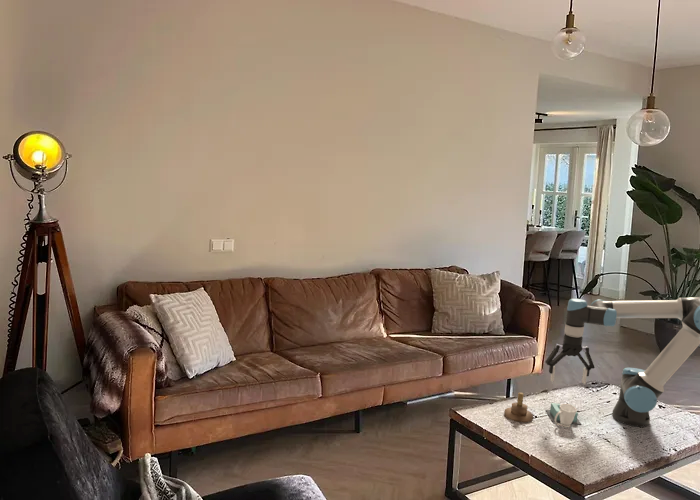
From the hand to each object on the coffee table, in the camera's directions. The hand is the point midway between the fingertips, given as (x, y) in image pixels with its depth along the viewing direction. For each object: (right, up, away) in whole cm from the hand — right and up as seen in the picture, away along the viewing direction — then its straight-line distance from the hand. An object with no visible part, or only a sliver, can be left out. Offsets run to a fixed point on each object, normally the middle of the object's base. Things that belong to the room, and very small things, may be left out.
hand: (567, 381), depth 256 cm
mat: (-1, -16, +3) cm, 17 cm away
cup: (-4, -17, -5) cm, 19 cm away
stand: (-21, -15, +1) cm, 26 cm away
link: (-1, -16, +3) cm, 16 cm away
